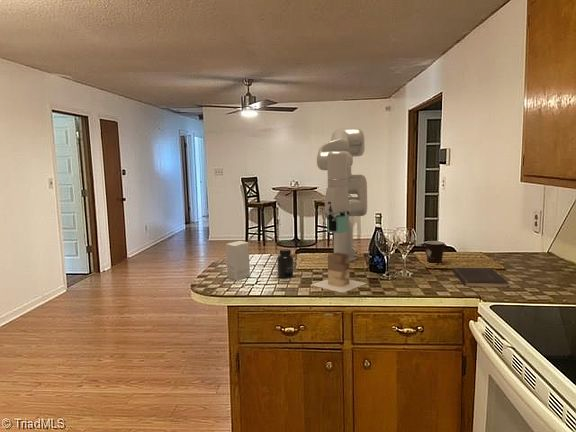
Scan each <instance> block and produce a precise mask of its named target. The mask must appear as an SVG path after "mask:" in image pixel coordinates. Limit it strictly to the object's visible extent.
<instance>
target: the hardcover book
mask: <svg viewBox="0 0 576 432" xmlns="http://www.w3.org/2000/svg"><path fill="white" fill-rule="evenodd" d="M452 272H453V274H454V275H455V276H456V278H458V280H459V281H460V282H461V283H462V285H463V286H464V287H484V288H489V287H490V288H492V287H493V288H509V287H508V286H509V284H510V283H509V281H508V280H506V279H505V278H504V277H502V276H501V274H499V273H498V272H497V271H495V269H493V268H492V267H452Z"/></svg>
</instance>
